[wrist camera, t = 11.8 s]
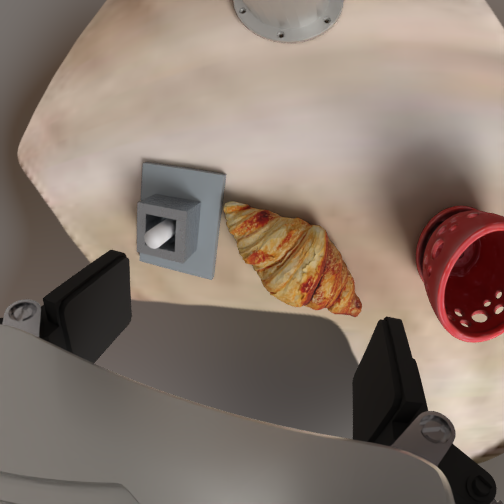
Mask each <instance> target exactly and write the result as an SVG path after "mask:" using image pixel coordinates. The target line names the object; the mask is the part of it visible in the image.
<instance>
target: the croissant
mask: <svg viewBox="0 0 504 504" xmlns="http://www.w3.org/2000/svg"><path fill="white" fill-rule="evenodd" d="M223 210H224V212H225V215H226V216H225V218H226V220H227V222H226V224H227V227H228V228H229V232H230V233H231V234H233V235H234V238H235V239H236V241H237V247H238V250H239V254H240V255H241V256H242V257H243V260H244V261H245V263H247V264H252V265H253V268H254V270H255V271H256V272H257V274H258V275H259V277H260V278H261V281H262V283H263V285H264V287H265V288H266V289H267V291H268V292H270V295H273V296H274V297H276V298H277V299H279V300H281V301H282V302H284V303H286V304H288V305H291V306H294V307H301V306H303V305H304V306H307V307H310V308H312V309H314V310H320V309H323V308H328V310H329V311H330V312H332V313H334V314H344V315H351V316H353V317H356V316H358V314H359V313H360V312H361V308H362V304H361V301H360V299H359V297H357V295H356V293H355V285H354V280H353V277H352V276H351V274H350V272H349V271H348V269H347V266H346V264H345V263H344V261H343V260H342V257H341V254H340V252H339V251H338V250H337V248H336V247H335V246H334V244H333V243H332V242H331V241H330V240H329V238H328V236H327V232H326V230H324V229H323V228H322V227H321V226H319V225H310V224H309V223H308V222H306V221H304V220H302V219H300V218H298V217H296V218H295V219H293V218H289V217H288V218H285V217H280V216H279V215H278V214H277V213H272V212H271V211H269V210H262V209H255V208H251V207H250V206H249V205H247V204H242V203H238V202H233V201H231V202H228V203H225V205H224V208H223Z"/></svg>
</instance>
